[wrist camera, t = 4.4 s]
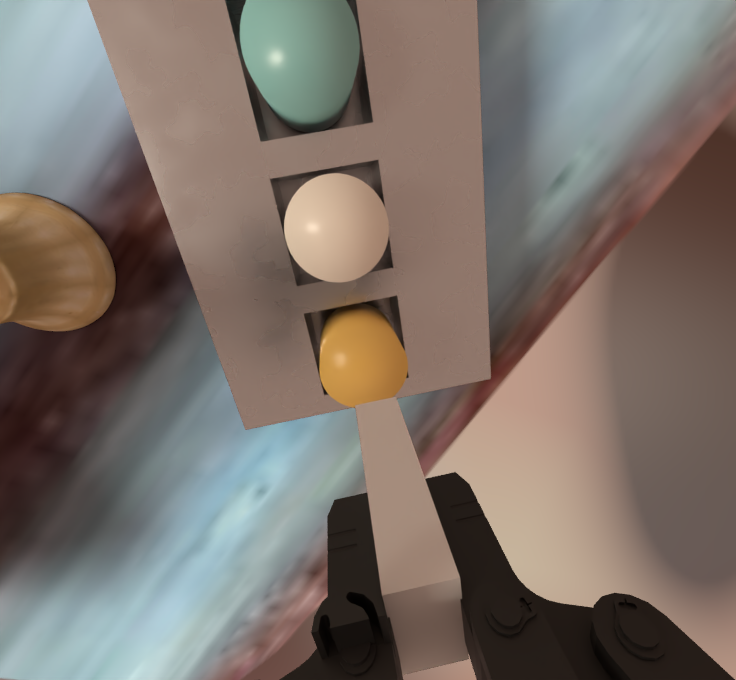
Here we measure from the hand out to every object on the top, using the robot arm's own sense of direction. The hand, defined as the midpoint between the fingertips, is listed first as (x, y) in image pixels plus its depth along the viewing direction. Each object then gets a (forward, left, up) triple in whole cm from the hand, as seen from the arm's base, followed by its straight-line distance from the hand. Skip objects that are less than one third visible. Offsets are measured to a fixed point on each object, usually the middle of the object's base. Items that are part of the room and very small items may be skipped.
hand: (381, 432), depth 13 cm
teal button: (0, +14, -11) cm, 18 cm away
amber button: (0, 0, -10) cm, 10 cm away
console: (0, +7, -13) cm, 15 cm away
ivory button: (0, +7, -10) cm, 12 cm away
